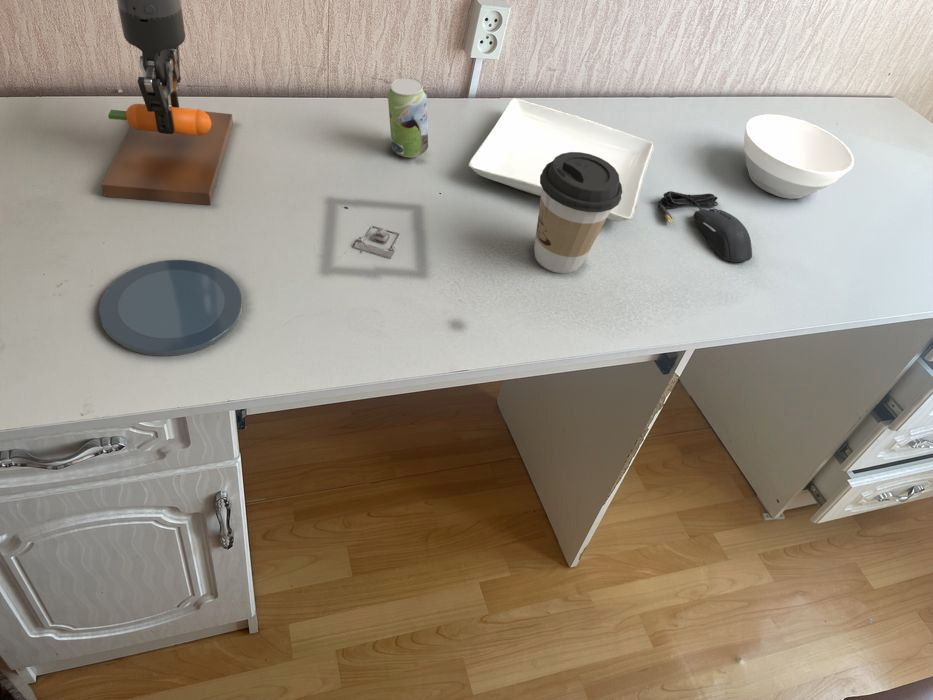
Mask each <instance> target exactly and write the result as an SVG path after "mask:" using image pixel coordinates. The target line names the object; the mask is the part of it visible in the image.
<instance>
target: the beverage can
mask: <svg viewBox="0 0 933 700" xmlns="http://www.w3.org/2000/svg"><path fill="white" fill-rule="evenodd" d="M427 95H428V94H427V90H426V89H425V88H424V86H423V83H422V82H421V81H420V80H418V79H416V78H412V77H402V78H397V79H395V80H394V81H393V82H391V84H390V88H389V90H388V93H387V103H388V104H387V105H388V117H389V129H390V140H391V141H390V142H391V143H390V144H391V150H392V151H393V152H394V153H395V154H397V155H399V156H401V157H403V158H409V159H411V158H416V157H419V156H421V155H422V154H424V153H425V152H426V151H427V150H428V148H429V130H428V128H429V127H428V125H429V124H428V98H427V97H428V96H427Z"/></svg>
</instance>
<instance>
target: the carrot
mask: <svg viewBox="0 0 933 700" xmlns="http://www.w3.org/2000/svg"><path fill="white" fill-rule="evenodd" d="M204 111H205V110H202V109H199V108H197V109H196V108H188V107H179V108H178V107H172V115H173V121H174V128H175V130H174V133H178V134H189V135H204V134H206V133H208V132H209V130H210V128H211V119H210V117H209V116H208V114H207V113H206V112H207V111H206V112H204ZM107 117H108V119H109V120H118V121H126V122H127V123H128V125H129V126H132V127H133V128H135V129H137V130H145V131H156V132H158V130H157V124H156V119H155V113H154V112H148V110H147V108H146V105H145V103H133V104H132V105H130V106H129V107H127V109H126V110H118V109H110V111H109V112H108V115H107Z"/></svg>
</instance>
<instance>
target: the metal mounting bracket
mask: <svg viewBox="0 0 933 700" xmlns="http://www.w3.org/2000/svg"><path fill="white" fill-rule="evenodd" d="M373 229H377V230H376V231H375V233H374V235H373V236H372V241H371V242H372V243H376V244H381V245H382V246H386V245H387V243H388V241H389V239H390V235H391V234H393V235H396V238H395V240H394V242H393V244H392V245H390V247H389V249H386V248H382V247H379V246H375V245H372V244H370V243H369V244H368V243H365V241H366V239H367V238H368V236H369V235H370V233H371V232H372V230H373ZM400 236H401V234H400V232H399V233H398V232H396V231H393V230H390V229H387V228H382V227H379V226H376V225H372V226H371V227H370V228H369V230H368V232H367V233H366V235H365V236H364V237H362V236H359V237H358V239H357V241H355V243H354V246H353V249H355V250H358V251H359V253H362V252H365V253H368V254H372V255H375V256H379V257H381V258H386V259H389V260H391V259H392V257H394V254H395V253H396V249H397V247H396V246H395V245H396V243H397V242H398V239H399V238H400Z"/></svg>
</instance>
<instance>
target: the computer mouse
mask: <svg viewBox="0 0 933 700" xmlns="http://www.w3.org/2000/svg"><path fill="white" fill-rule="evenodd" d="M717 200H718V196H716V195H715V194H713V193H702V194H687V193H686V194H685V193H681V192H677V191H673V190H672V191H671V190H669V191H667V192H664V193H663V196H662V197H661V198H660V200H658V204H657V208H658V210H659V212H660V213H661V215H662V216H663V218H664V219H665V220H666V221H668V222H669V224H673V223H674V221H673V217H672V215H671V214H670V213H669V211H668V210H672V209H676V208H682V207H685V206H690V207H691V206H696V207H697V208H698V210H695V212H694V213H693V216H692V217H693V221H694V224H695V225H696V227H697V228H698V229H699V230H700V231H701V232H702V234H703V235H704V237H705V238H706V240H707V242H708V244H709V246H710V247H711V249H712V250H713V252H714V253H715V254H716V255H718V256H719V258H722V259H723V260H725V261H728V262H732V263H744V262H747V261H749V260H751V259H752V258H753V249H752V248H753V247H752V240H751V236H750V234H749V231H748V229H747V228H746V226H745V225H744V224H743V222H742V221H740V219H738V218H737V217H736V216H734V215H732V214H731V213H729V212H726V211H724V210H722V209H718V208H713V207H717V206H719V202H717ZM702 207H709V208H708V209H706V208H702ZM711 207H712V208H711ZM667 209H668V210H667Z"/></svg>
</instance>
